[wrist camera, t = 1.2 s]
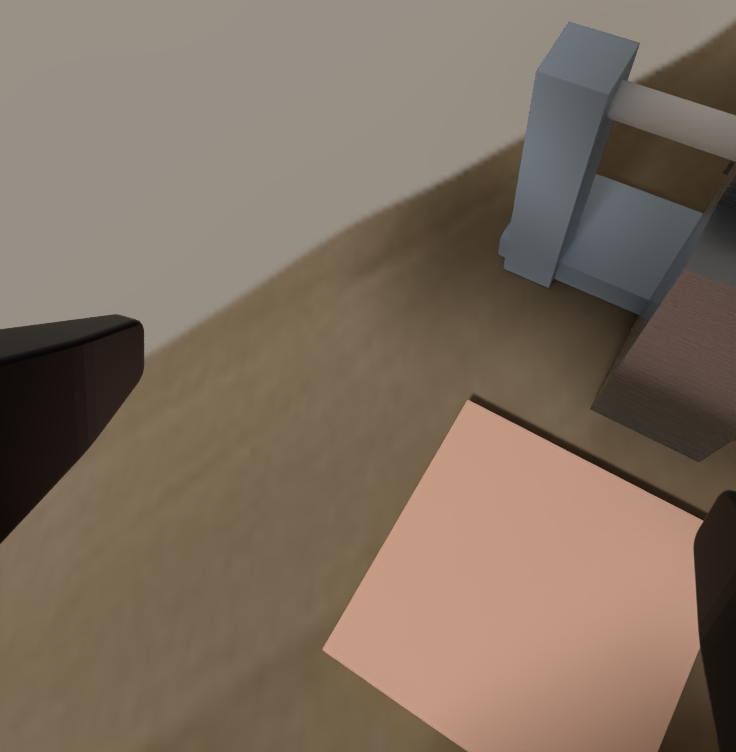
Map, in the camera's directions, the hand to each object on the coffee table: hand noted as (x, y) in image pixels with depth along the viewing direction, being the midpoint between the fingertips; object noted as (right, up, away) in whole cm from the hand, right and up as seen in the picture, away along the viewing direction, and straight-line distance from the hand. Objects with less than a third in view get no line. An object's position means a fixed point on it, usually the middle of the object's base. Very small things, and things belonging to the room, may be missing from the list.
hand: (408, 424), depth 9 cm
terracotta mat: (+5, -7, +11) cm, 14 cm away
